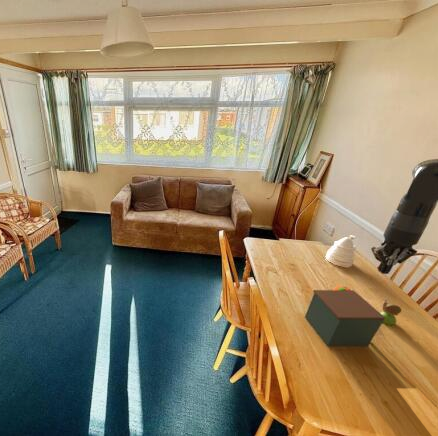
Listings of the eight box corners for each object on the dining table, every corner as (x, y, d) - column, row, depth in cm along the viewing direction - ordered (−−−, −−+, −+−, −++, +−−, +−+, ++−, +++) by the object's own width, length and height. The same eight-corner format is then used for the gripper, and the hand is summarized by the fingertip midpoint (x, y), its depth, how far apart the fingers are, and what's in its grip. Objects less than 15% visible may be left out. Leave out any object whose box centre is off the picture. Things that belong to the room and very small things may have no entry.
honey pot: (344, 257, 144) (355, 232, 136) (356, 269, 132) (368, 242, 125) (321, 254, 146) (330, 229, 139) (331, 266, 135) (342, 239, 128)
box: (327, 346, 88) (340, 319, 82) (304, 316, 101) (314, 291, 95) (368, 346, 88) (384, 319, 82) (340, 317, 101) (352, 291, 95)
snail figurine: (370, 315, 102) (382, 295, 97) (389, 320, 99) (402, 300, 94) (375, 324, 98) (387, 303, 93) (395, 330, 95) (409, 309, 90)
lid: (338, 319, 82) (339, 317, 82) (312, 291, 95) (313, 290, 95) (384, 319, 82) (385, 317, 82) (352, 291, 95) (353, 290, 95)
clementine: (338, 305, 108) (344, 293, 105) (326, 294, 114) (330, 283, 111) (353, 303, 109) (359, 291, 106) (339, 292, 115) (345, 281, 112)
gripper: (396, 232, 66) (373, 279, 73) (441, 231, 66) (414, 279, 73) (373, 221, 73) (353, 266, 80) (414, 221, 73) (391, 265, 80)
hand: (382, 272), depth 77 cm, fingers closed
